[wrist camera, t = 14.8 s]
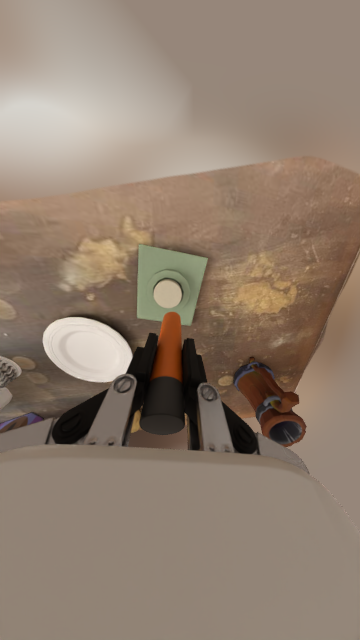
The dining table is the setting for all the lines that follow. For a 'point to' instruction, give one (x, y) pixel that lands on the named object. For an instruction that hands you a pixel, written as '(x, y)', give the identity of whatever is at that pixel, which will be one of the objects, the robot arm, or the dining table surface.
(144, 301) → the push button block
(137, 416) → the potato
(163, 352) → the marker
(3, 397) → the container
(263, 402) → the mug
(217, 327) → the dining table surface
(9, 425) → the cereal box
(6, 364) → the decorative candle
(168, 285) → the circle pad
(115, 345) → the plate
